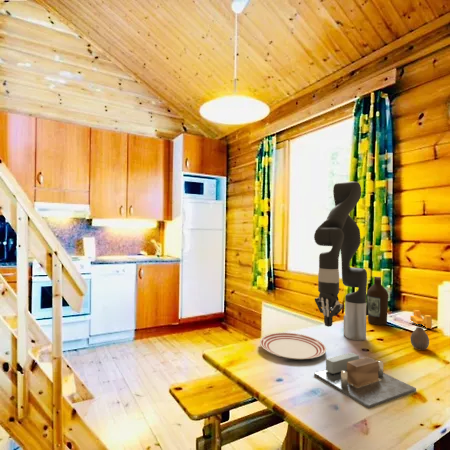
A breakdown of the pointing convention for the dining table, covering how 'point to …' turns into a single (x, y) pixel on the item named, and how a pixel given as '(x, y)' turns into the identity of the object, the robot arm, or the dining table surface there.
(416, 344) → the vase
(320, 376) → the housing base
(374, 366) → the block
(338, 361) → the bar
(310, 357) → the dinner plate
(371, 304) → the olive oil
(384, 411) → the dining table surface
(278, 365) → the dining table surface
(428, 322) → the pipe clamp
